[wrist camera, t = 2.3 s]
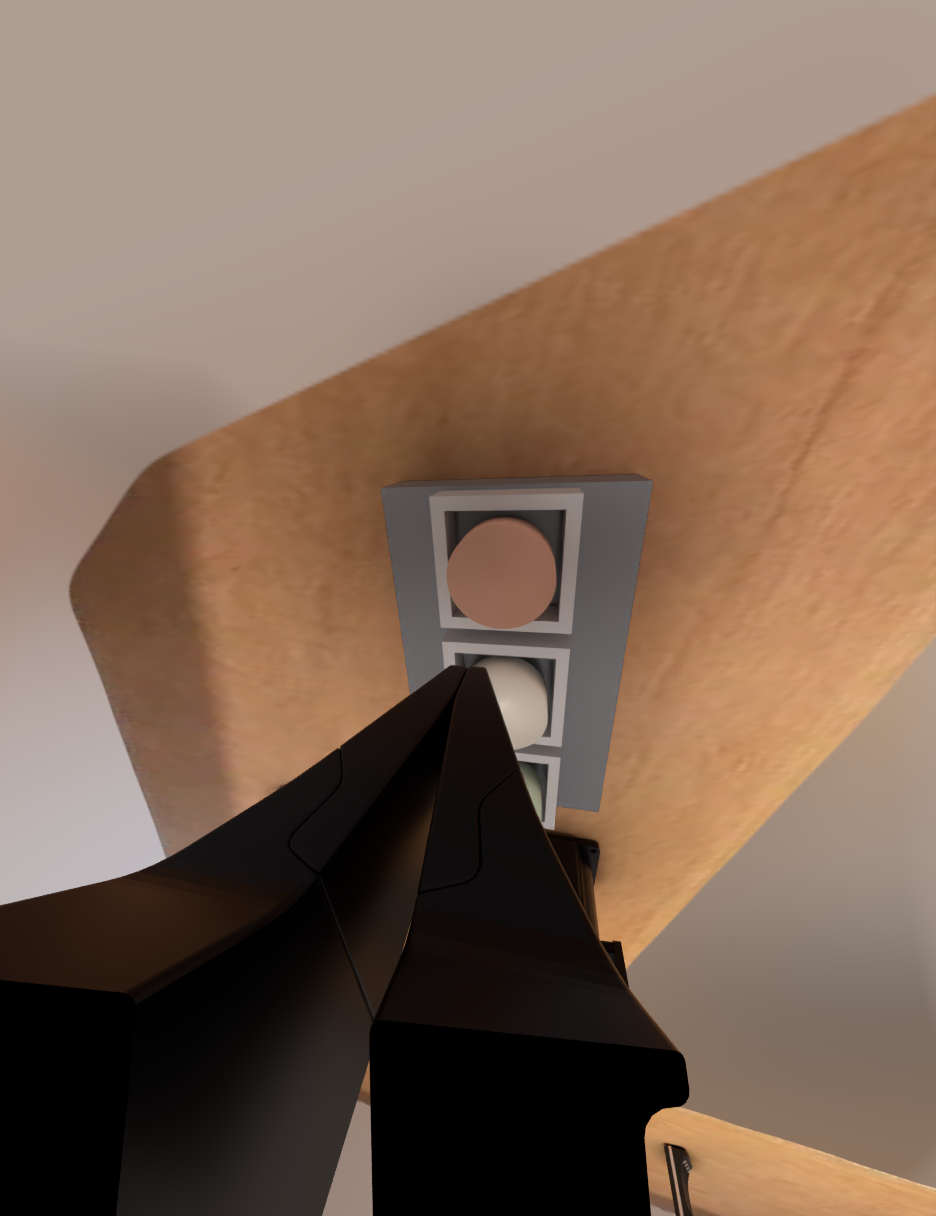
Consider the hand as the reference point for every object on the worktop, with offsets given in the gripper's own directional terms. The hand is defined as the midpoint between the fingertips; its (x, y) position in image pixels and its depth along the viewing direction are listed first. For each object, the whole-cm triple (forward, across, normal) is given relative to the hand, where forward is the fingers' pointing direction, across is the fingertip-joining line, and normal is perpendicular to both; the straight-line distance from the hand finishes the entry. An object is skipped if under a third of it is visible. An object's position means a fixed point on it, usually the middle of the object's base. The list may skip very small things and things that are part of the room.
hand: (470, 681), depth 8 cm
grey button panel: (+13, 0, +7) cm, 15 cm away
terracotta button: (+9, 0, 0) cm, 9 cm away
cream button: (+9, 0, +7) cm, 11 cm away
